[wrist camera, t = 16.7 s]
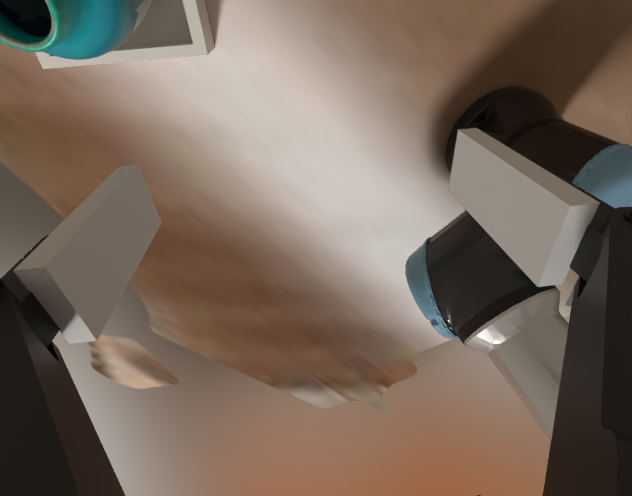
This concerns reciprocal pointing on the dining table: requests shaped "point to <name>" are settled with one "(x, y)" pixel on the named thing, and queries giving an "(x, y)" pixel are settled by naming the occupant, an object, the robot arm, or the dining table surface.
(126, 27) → the vase
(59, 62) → the pusher lane
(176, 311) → the dining table surface
